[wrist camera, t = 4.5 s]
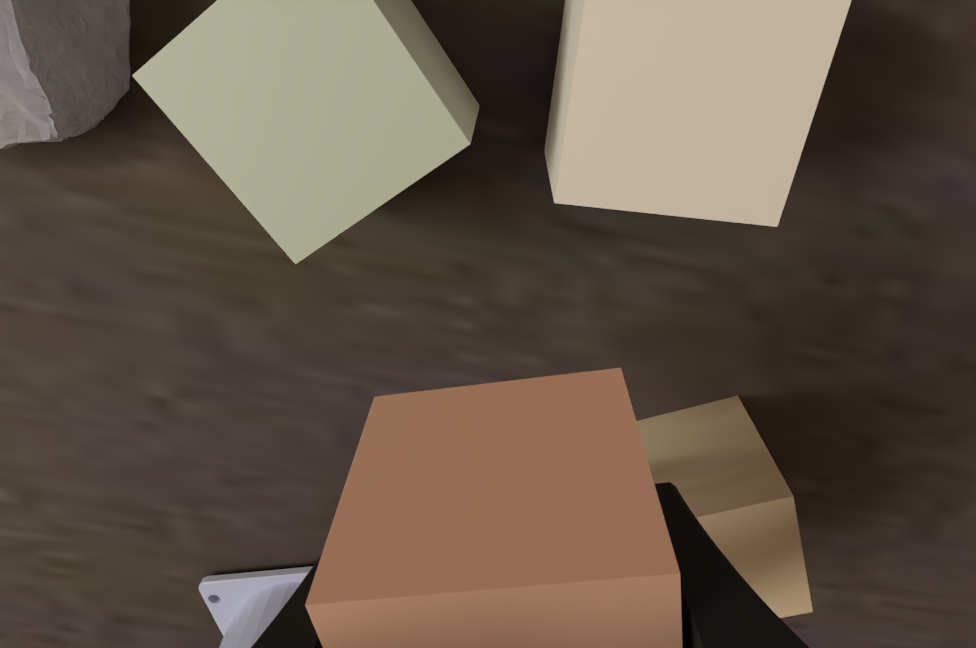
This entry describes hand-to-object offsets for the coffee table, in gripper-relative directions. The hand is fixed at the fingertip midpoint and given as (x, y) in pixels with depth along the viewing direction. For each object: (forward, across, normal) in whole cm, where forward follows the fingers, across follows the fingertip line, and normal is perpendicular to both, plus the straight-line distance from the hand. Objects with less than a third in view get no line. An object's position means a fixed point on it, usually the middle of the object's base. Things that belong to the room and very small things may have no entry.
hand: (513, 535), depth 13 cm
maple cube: (+10, -5, +7) cm, 13 cm away
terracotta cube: (+2, 0, 0) cm, 2 cm away
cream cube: (+10, -5, -7) cm, 13 cm away
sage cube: (+10, +3, -8) cm, 13 cm away
